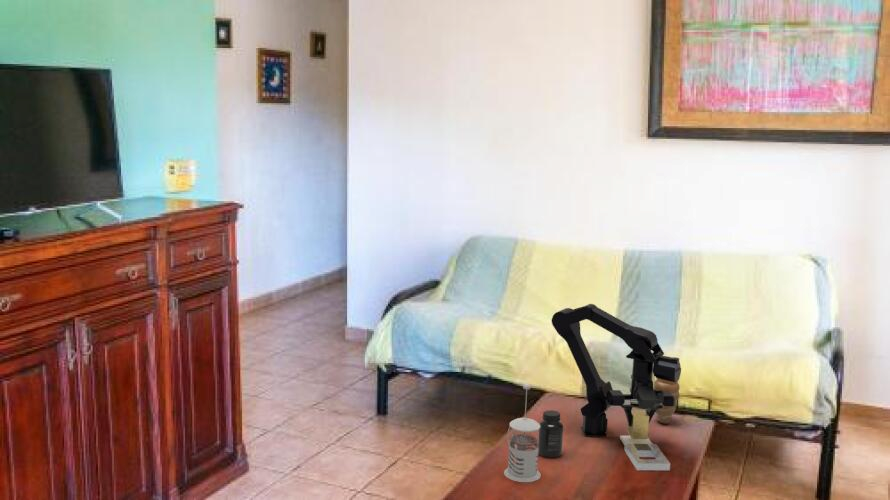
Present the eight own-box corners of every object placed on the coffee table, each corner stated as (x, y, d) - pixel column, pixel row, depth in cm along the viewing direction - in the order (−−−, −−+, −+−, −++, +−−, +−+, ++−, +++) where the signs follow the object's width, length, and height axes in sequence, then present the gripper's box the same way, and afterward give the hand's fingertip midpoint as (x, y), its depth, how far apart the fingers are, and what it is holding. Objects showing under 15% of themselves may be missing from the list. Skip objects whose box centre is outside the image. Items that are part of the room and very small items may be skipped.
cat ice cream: (659, 415, 264) (664, 361, 261) (682, 422, 259) (686, 367, 255) (645, 422, 258) (649, 367, 254) (667, 430, 252) (672, 373, 249)
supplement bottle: (564, 451, 235) (567, 411, 233) (557, 460, 229) (560, 419, 227) (541, 446, 238) (544, 406, 235) (534, 455, 232) (536, 414, 229)
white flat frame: (637, 470, 224) (637, 463, 224) (624, 450, 237) (624, 443, 237) (669, 470, 225) (670, 463, 224) (655, 450, 237) (655, 443, 237)
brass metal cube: (631, 439, 239) (633, 416, 238) (627, 432, 243) (629, 410, 242) (647, 439, 239) (649, 416, 238) (642, 432, 244) (644, 410, 242)
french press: (516, 485, 214) (521, 392, 209) (493, 466, 224) (497, 378, 219) (548, 478, 218) (553, 387, 213) (524, 460, 228) (528, 373, 224)
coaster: (627, 449, 237) (627, 446, 237) (619, 438, 245) (620, 435, 245) (654, 449, 238) (654, 447, 238) (646, 438, 246) (646, 435, 246)
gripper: (617, 384, 229) (613, 437, 232) (683, 384, 230) (678, 437, 233) (607, 370, 240) (603, 421, 243) (670, 371, 241) (666, 422, 244)
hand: (638, 426), depth 241 cm, fingers closed on brass metal cube, 5 cm apart
